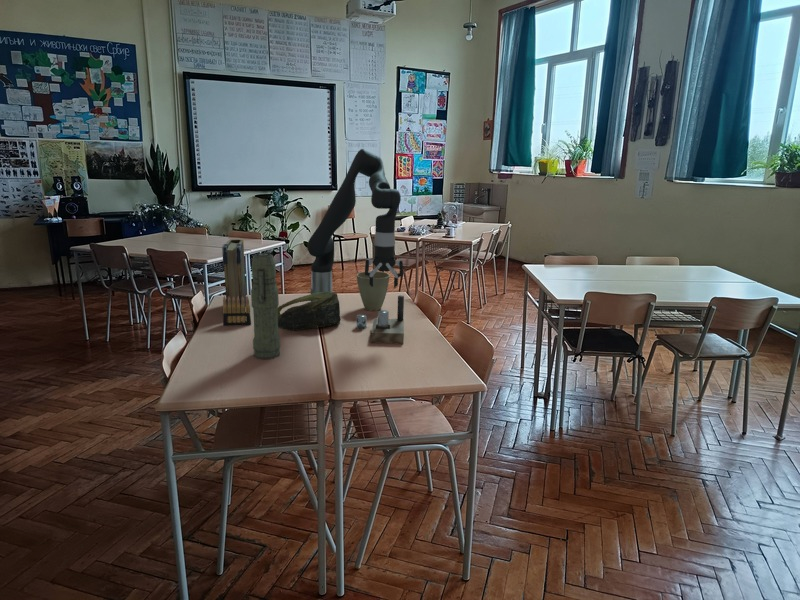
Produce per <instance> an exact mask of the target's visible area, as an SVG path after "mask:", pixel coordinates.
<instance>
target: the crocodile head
mask: <svg viewBox="0 0 800 600" xmlns="http://www.w3.org/2000/svg"><path fill="white" fill-rule="evenodd" d="M316 299H319V300H316ZM312 300H316V301H312ZM311 301H312V302H311ZM303 302H306V303H303ZM298 303H303V304H301V305H295V306H292V307H289V306H291V305H294V304H298ZM287 307H288V308H287ZM285 308H287V309H286V310H284V311H283V312H281V311H282V310H283V309H285ZM340 309H341V308H340V300H339V297H338V293H337V292H333V291H332V292H318V293H313V294H311V293H310V294H307V295H304V296H299V297H298V298H294V299H292V300H289V301H287V302H285V303H283V304H280V305H278V307H277V313H278V329H282V330H286V331H301V330H304V329H305V330H306V329H317V328H318V329H319V328H325V327H328V326H334V325H338V324H340V323H341V319H342V318H341V311H340Z"/></svg>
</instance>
